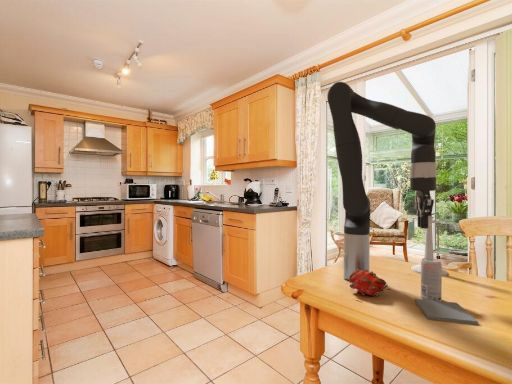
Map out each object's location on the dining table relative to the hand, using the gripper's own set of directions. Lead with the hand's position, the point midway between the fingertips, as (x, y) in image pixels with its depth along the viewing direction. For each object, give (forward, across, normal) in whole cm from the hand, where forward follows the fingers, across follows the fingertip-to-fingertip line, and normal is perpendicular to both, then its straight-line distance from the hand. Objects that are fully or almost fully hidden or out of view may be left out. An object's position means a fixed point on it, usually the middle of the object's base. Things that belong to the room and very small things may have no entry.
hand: (422, 227), depth 92 cm
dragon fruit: (+21, +9, -18) cm, 30 cm away
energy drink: (+21, +8, 0) cm, 23 cm away
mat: (+21, +18, 0) cm, 27 cm away
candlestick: (+21, -25, +10) cm, 34 cm away
